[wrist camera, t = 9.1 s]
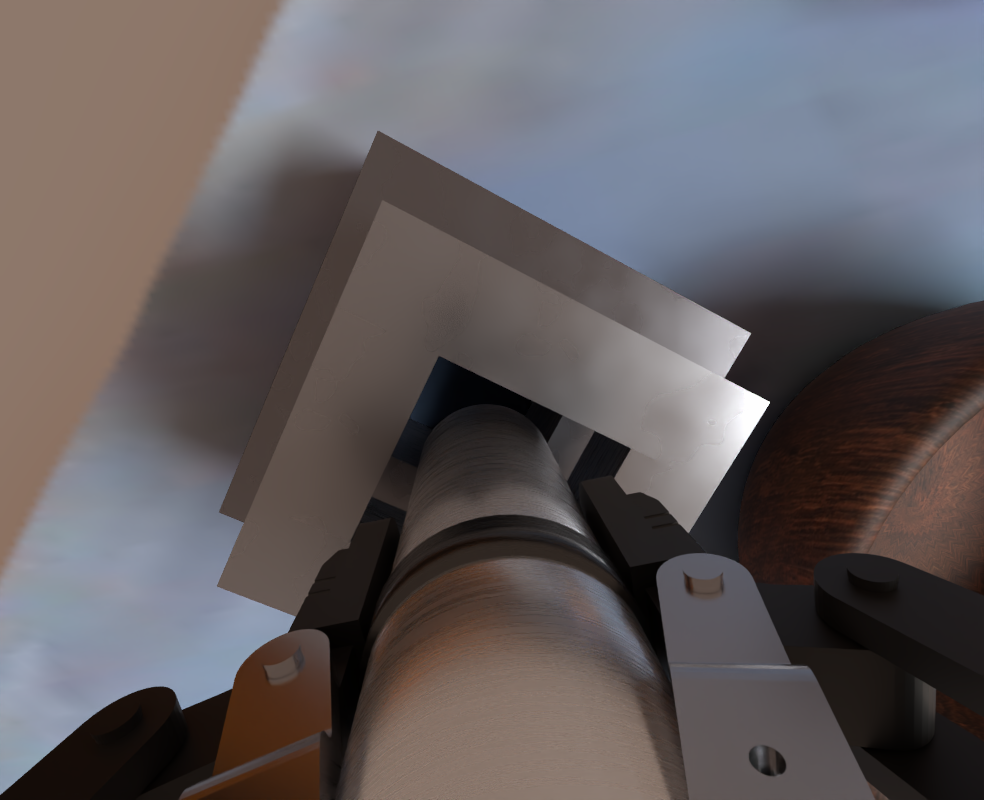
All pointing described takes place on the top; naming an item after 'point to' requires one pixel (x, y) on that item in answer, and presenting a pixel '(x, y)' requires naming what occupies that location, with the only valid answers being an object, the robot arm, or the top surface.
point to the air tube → (506, 641)
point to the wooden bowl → (879, 466)
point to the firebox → (472, 369)
